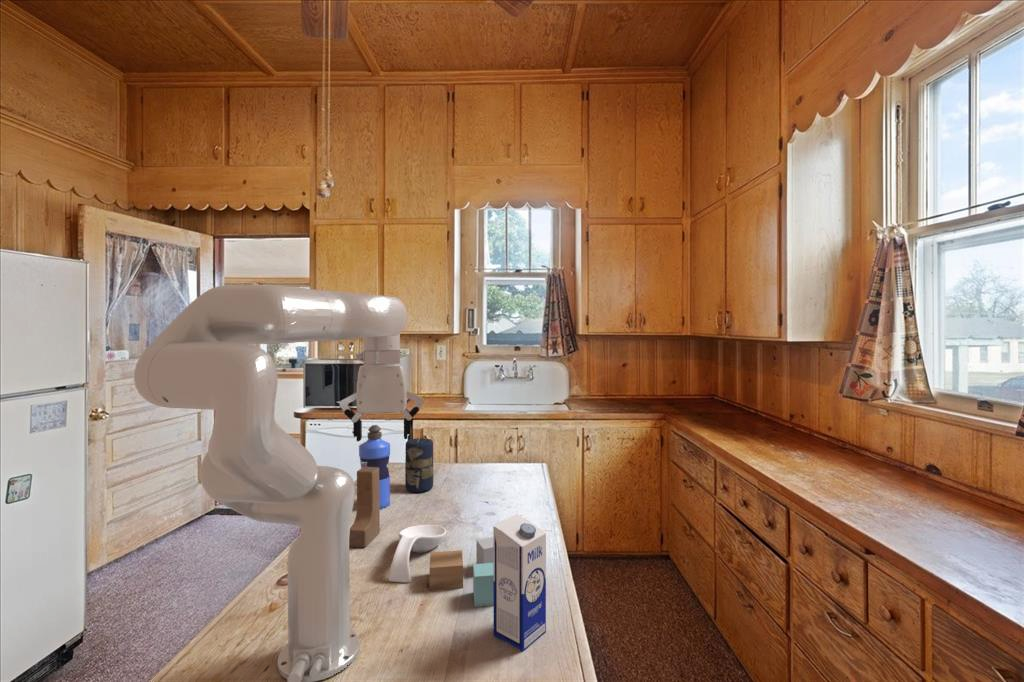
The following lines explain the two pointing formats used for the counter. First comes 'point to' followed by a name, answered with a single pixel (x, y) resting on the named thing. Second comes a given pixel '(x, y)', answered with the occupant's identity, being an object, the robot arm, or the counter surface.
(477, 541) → the grey block
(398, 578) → the spoon rest
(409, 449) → the canister
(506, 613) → the milk carton
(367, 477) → the wooden block
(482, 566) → the teal block
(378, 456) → the water bottle
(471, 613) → the counter surface
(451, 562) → the walnut block
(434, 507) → the counter surface
